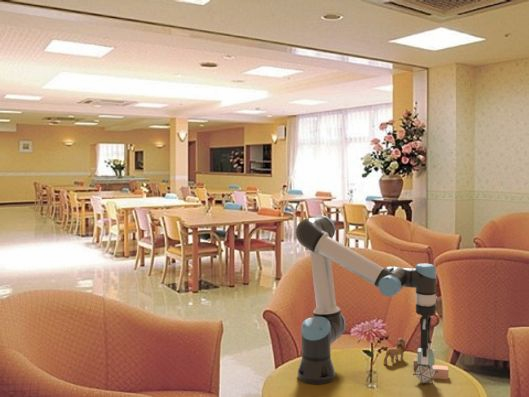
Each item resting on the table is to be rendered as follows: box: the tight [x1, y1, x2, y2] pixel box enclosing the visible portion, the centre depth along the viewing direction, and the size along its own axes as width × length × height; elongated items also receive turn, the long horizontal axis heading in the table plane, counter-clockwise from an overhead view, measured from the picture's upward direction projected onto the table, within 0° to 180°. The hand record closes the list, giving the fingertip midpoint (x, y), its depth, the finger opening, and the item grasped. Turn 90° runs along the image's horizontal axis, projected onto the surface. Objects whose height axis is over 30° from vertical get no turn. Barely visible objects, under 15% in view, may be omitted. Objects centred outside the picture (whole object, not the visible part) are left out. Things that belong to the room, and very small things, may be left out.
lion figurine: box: [383, 337, 406, 366], centre depth 230 cm, size 15×5×9 cm, turn 138°
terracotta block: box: [432, 364, 449, 380], centre depth 214 cm, size 6×4×4 cm, turn 76°
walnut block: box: [413, 356, 436, 371], centre depth 222 cm, size 8×5×4 cm, turn 68°
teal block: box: [417, 347, 435, 366], centre depth 207 cm, size 6×4×5 cm, turn 68°
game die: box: [412, 364, 438, 386], centre depth 208 cm, size 9×8×10 cm
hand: (425, 361), depth 208 cm, fingers closed on teal block, 4 cm apart
